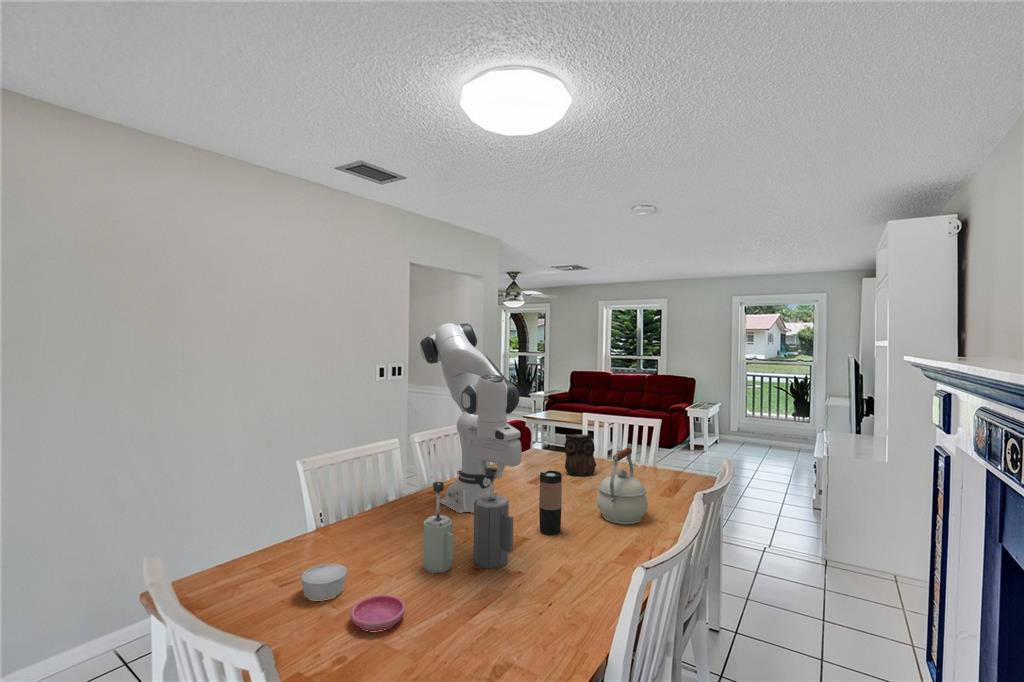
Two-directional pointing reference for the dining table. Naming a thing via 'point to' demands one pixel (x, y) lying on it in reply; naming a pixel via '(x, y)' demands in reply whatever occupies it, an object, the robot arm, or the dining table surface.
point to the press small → (438, 544)
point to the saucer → (378, 612)
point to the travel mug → (550, 502)
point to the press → (492, 532)
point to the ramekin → (323, 581)
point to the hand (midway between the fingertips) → (491, 476)
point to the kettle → (622, 494)
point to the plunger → (491, 480)
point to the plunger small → (438, 495)
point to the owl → (579, 455)
